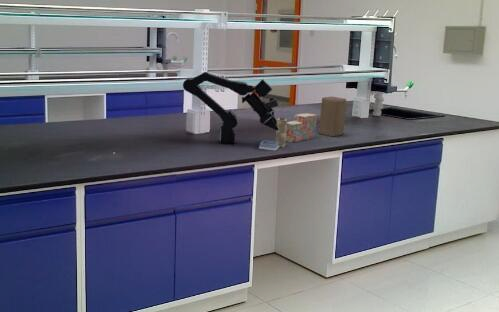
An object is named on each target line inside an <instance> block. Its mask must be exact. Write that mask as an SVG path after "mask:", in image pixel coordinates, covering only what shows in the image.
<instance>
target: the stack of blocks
mask: <svg viewBox="0 0 499 312" xmlns="http://www.w3.org/2000/svg"><path fill="white" fill-rule="evenodd" d="M317 123H318V114H315V113H308V112H306V113H298V114H294V118H293V120H292V121H287V128H286V141H285V142H287V143H288V142H289V143H294V142H295V143H296V142H300V141H304V140H310V139H315V138H316V131H317Z"/></svg>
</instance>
